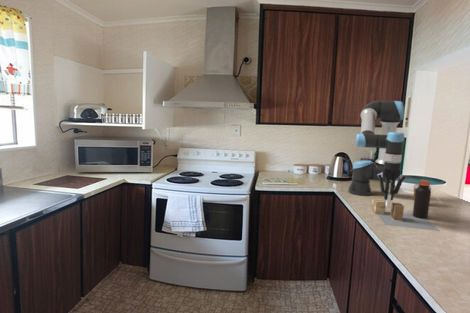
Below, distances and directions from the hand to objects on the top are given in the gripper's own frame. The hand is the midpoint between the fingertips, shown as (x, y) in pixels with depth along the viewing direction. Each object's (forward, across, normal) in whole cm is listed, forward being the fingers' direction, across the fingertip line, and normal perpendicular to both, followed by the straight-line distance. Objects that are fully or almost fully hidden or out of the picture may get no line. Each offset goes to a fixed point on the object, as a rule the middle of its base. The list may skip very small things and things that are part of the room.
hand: (387, 205), depth 145 cm
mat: (+7, +9, 0) cm, 11 cm away
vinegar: (+7, +19, +8) cm, 22 cm away
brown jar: (+7, +28, +36) cm, 47 cm away
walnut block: (+7, +5, 0) cm, 8 cm away
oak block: (+7, -2, +8) cm, 11 cm away
